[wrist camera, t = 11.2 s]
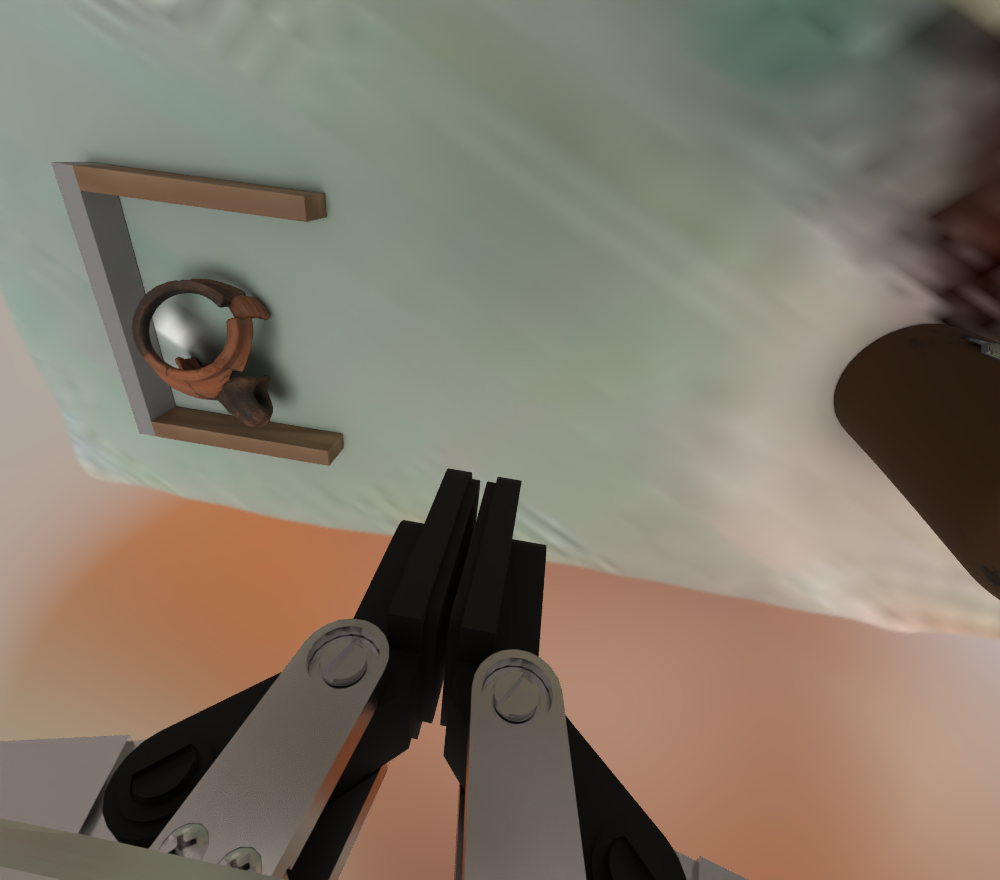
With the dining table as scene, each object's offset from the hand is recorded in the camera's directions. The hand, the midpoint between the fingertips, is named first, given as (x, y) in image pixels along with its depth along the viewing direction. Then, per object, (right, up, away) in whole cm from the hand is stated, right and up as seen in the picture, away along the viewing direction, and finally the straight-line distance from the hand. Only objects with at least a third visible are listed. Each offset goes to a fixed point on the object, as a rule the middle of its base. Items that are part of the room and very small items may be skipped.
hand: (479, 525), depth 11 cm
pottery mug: (-21, +10, +30) cm, 38 cm away
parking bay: (-21, +11, +28) cm, 37 cm away
